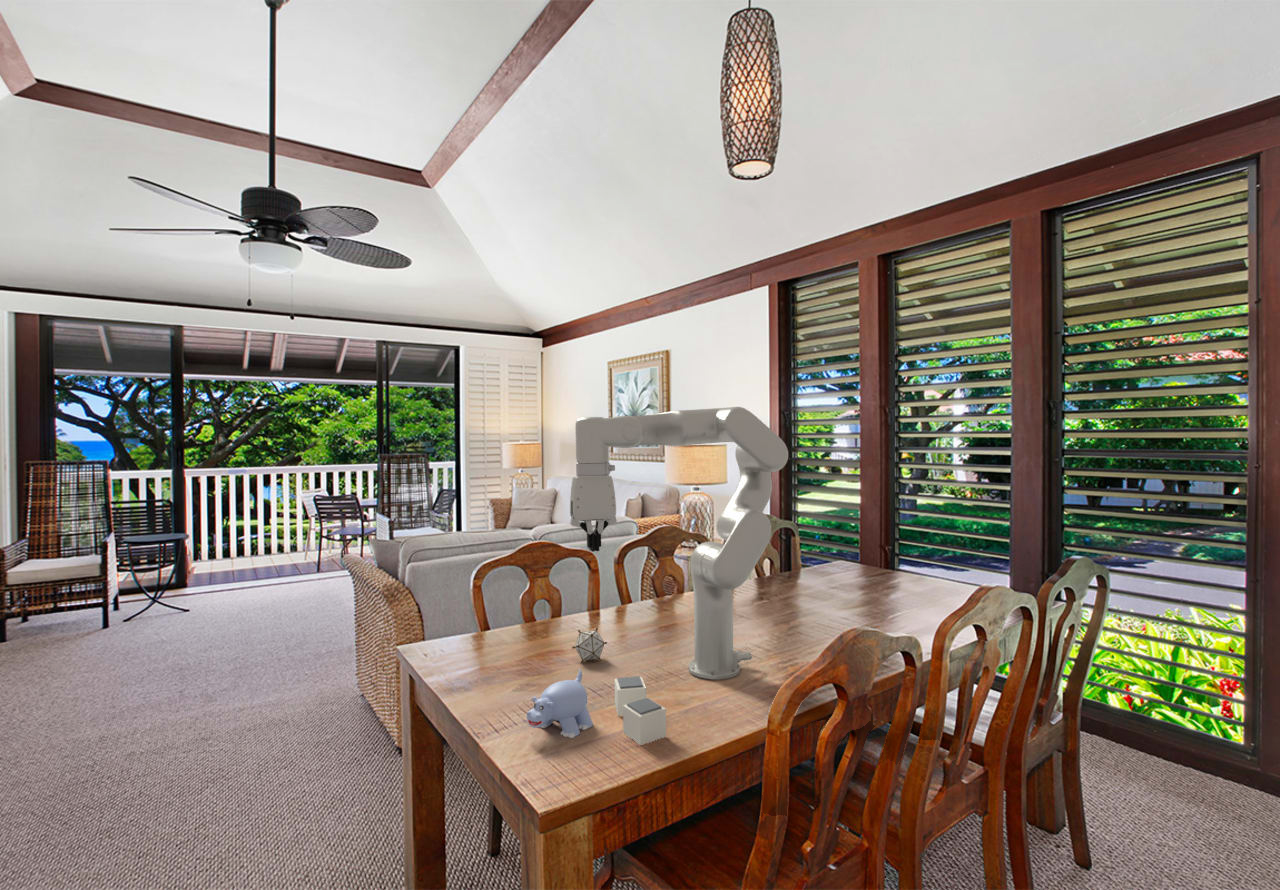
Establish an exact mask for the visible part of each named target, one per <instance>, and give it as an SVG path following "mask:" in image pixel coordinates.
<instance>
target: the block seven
mask: <svg viewBox="0 0 1280 890" xmlns="http://www.w3.org/2000/svg"><path fill="white" fill-rule="evenodd" d="M622 719H623V722H622V726H623V727H622V728H623V729H622V730H623V731H622V732H623V733H624V735H625V734H626V735H627V736H626V735H625V736H626V737H628V738H629V737H630V738H631V740H632V739H633V740H634V741H635V743H636V742H637V743H638V744H639V745H638V744H637V743H636V744H637V745H638V746H640V745H642V746H644V745H643V744H645V743H647V744H650V743H652V741H653V742H656V741H658V740H657V739H659V740H661V739H660V738H662V739H664V737H665V738H667V709H666V708H665V707H664V706H662V705H660V704H659V703H658V702H656V701H654V700H652V699H651V698H649V697H646V698H645V699H642V700H638V701H635V702H632V703H628V704H626V705H623V716H622ZM630 738H629V739H630ZM633 740H632V741H633ZM655 740H656V741H655ZM634 741H633V742H634ZM649 742H650V743H649ZM645 745H646V744H645Z"/></svg>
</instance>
